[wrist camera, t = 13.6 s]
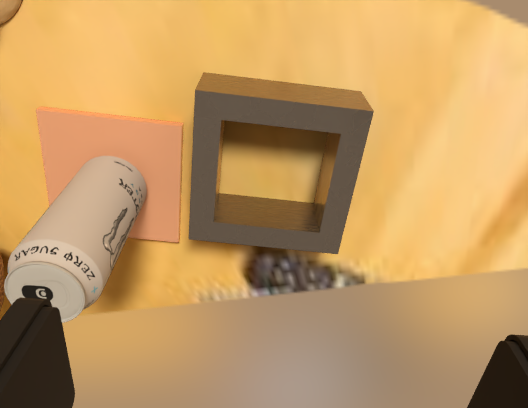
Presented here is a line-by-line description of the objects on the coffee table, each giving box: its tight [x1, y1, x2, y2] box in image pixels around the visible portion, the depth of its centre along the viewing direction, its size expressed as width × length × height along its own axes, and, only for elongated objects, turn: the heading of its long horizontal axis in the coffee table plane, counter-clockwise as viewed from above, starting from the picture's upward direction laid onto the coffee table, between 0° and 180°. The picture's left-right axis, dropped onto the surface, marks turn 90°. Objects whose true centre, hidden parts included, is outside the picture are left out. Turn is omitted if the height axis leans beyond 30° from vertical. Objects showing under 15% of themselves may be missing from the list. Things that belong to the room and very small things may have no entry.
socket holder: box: [189, 73, 374, 254], centre depth 38 cm, size 13×13×5 cm
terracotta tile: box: [36, 107, 183, 242], centre depth 41 cm, size 12×12×1 cm
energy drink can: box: [4, 156, 147, 322], centre depth 34 cm, size 6×6×15 cm
